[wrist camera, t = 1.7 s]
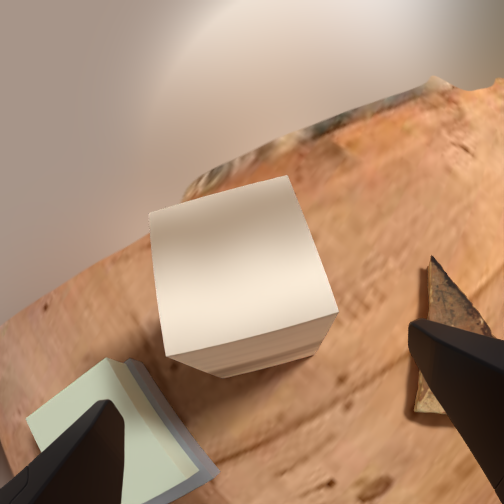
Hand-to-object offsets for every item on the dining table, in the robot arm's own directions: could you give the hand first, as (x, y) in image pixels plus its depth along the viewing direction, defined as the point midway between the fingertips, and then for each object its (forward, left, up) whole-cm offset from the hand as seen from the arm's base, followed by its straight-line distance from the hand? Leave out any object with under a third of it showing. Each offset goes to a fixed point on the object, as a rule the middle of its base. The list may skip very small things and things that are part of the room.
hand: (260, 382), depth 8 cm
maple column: (+5, 0, -11) cm, 12 cm away
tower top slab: (-1, +11, -9) cm, 14 cm away
